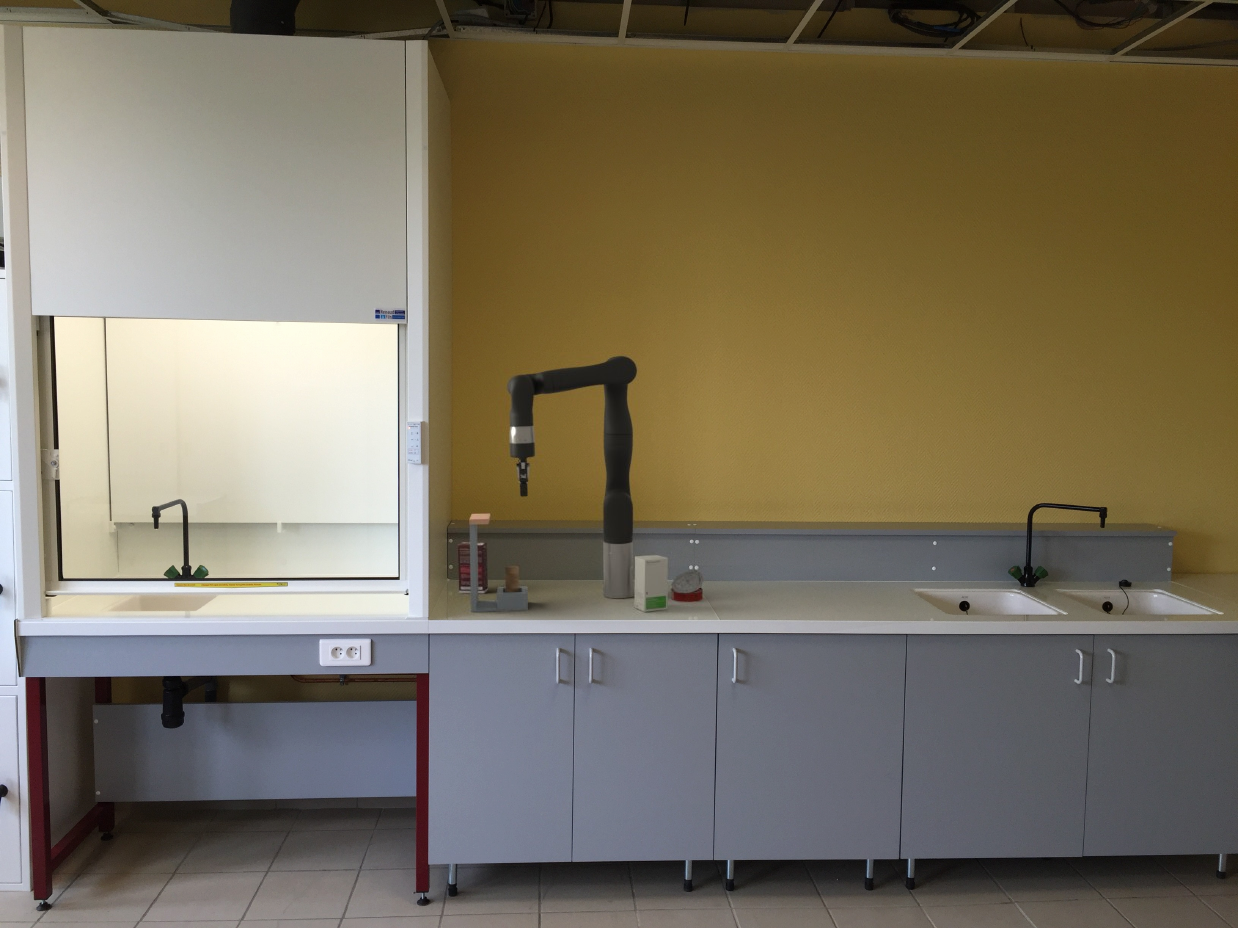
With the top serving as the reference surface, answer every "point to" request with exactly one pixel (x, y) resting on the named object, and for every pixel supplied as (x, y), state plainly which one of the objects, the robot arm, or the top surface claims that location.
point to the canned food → (687, 587)
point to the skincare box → (651, 583)
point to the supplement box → (465, 567)
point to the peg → (512, 579)
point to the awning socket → (503, 598)
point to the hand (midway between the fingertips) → (523, 494)
